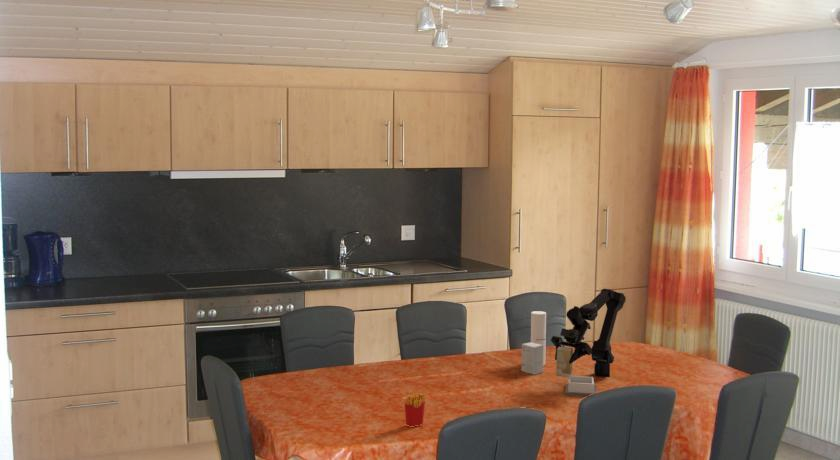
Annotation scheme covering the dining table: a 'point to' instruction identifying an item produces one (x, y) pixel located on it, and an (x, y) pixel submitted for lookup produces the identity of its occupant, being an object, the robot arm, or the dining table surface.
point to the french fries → (414, 409)
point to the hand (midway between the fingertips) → (562, 361)
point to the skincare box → (564, 362)
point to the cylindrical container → (539, 329)
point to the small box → (532, 358)
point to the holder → (580, 386)
